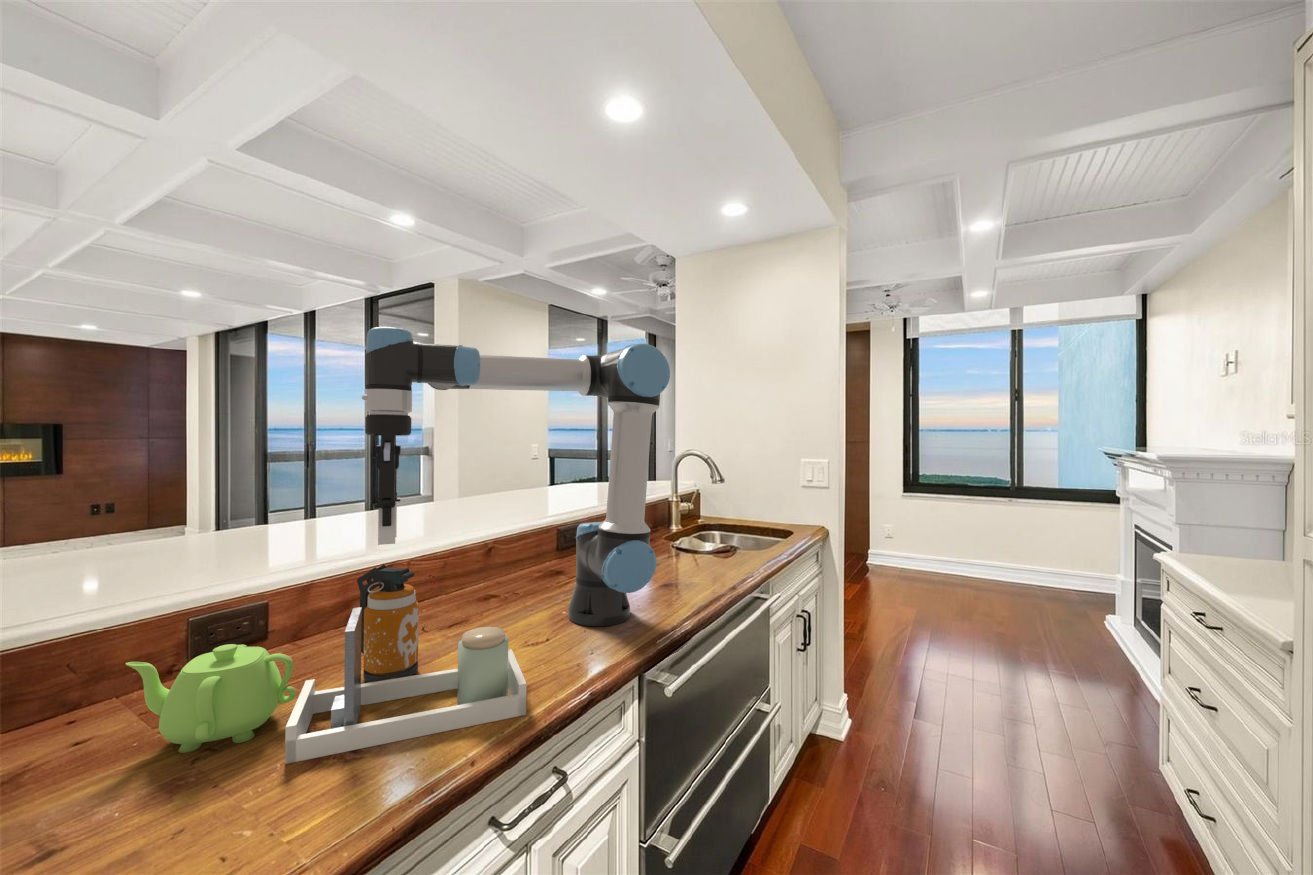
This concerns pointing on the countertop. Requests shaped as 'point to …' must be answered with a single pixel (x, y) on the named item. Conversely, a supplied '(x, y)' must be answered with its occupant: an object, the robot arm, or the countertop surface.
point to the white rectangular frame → (401, 726)
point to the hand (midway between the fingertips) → (387, 540)
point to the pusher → (350, 676)
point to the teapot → (217, 695)
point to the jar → (482, 665)
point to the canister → (388, 624)
